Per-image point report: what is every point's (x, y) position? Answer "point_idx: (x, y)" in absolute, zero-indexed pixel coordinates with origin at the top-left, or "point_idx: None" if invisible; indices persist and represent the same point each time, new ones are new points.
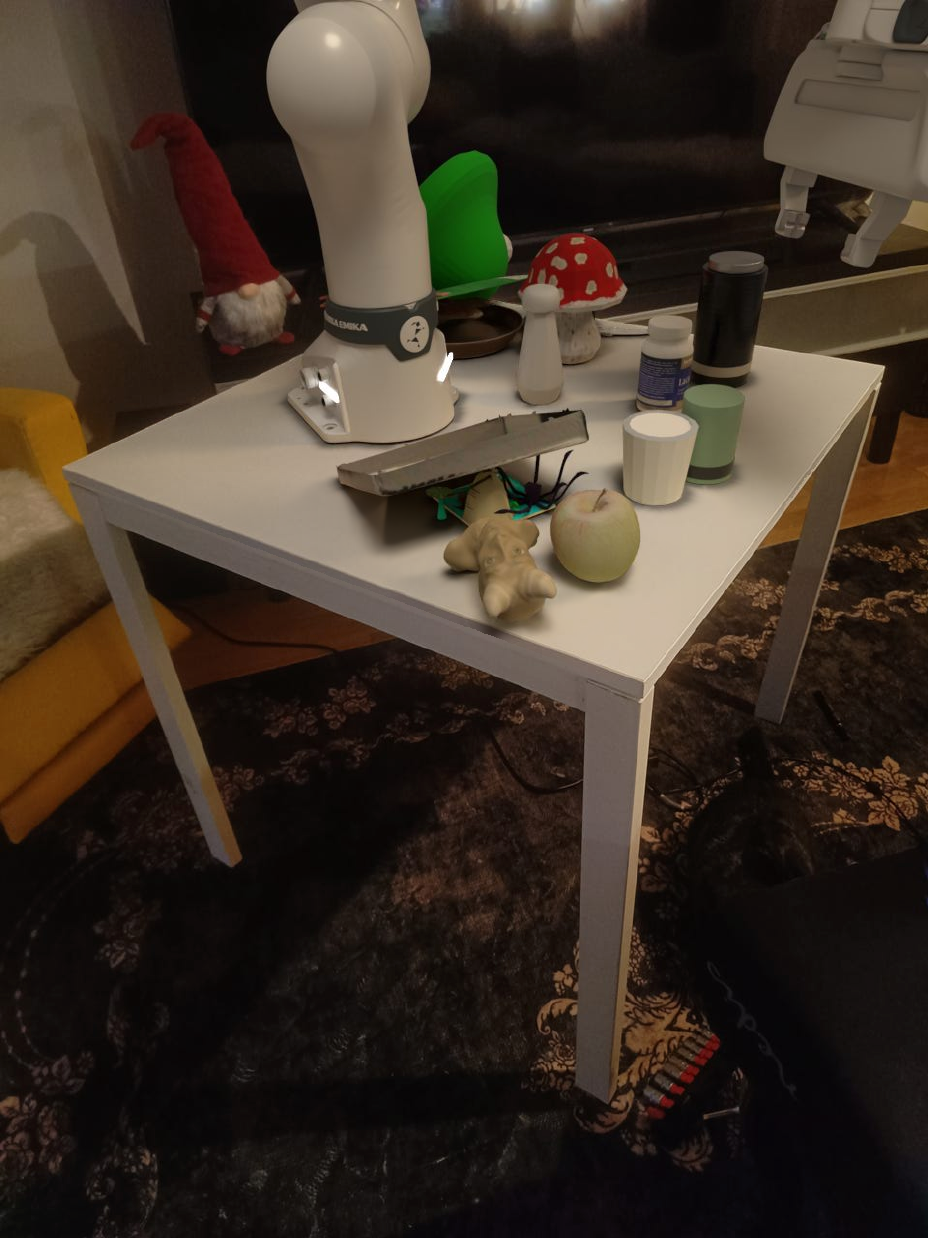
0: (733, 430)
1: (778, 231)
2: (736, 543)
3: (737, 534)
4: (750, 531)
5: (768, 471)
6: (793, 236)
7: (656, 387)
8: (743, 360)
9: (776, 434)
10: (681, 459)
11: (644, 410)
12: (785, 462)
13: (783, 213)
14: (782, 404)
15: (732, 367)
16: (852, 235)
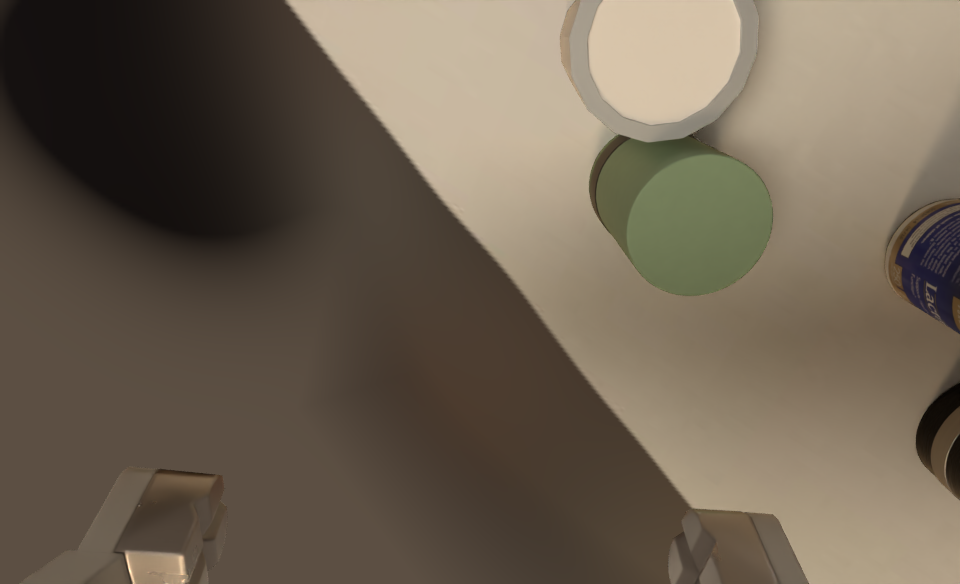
0: (614, 231)
1: (741, 513)
2: (381, 94)
3: (409, 114)
4: (410, 142)
5: (588, 295)
6: (677, 538)
7: (954, 233)
8: (953, 474)
9: (704, 388)
10: (567, 64)
11: (936, 202)
12: (603, 341)
13: (770, 575)
14: (801, 464)
15: (951, 445)
16: (145, 549)
